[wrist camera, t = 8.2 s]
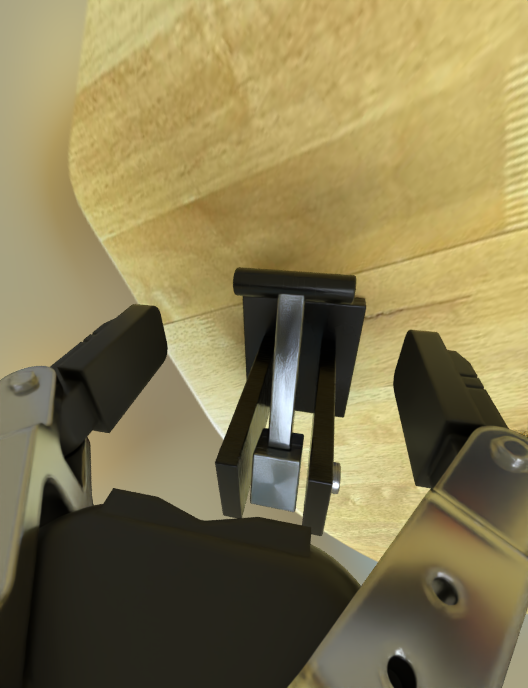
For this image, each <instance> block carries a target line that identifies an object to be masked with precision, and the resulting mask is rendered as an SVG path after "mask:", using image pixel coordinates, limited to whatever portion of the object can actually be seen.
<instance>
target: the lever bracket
mask: <svg viewBox="0 0 528 688" xmlns="http://www.w3.org/2000/svg"><path fill="white" fill-rule="evenodd" d="M277 308H278V299H274V298H262V297H250V296H243V315H244V336H245V357H246V378H247V381H246V384H245V386H244V389H243V391H242V394H241V397H240V399H239V402H238V404H237V407H236V410H235V412H234V415H233V417H232V420H231V422H230V425H229V428H228V430H227V433H226V435H225V438H224V441H223V443H222V446H221V448H220V450H219V453H218V456H217V459H216V461H215V465H216V471H217V478H218V485H219V492H220V498H221V505H222V511H223V515H224V516H229V517H233V518H242V515H243V512H244V508H245V504H246V500H247V496H248V492H249V488H250V485H251V477H252V460H253V452H254V450H255V447H256V445H257V442H258V440H259V437H260V434H261V432H262V429H263V428H265V427H266V423H267V419H268V415H269V412H270V404H271V390H272V376H273V363H274V349H275V335H276V322H277ZM365 311H366V302H365V299H362V298H354V301H353V304H352V305H344V304H332V303H320V302H309V301H306V302H305V312H304V323H303V333H302V343H301V354H300V364H299V374H298V385H297V395H296V405H295V411H302V412H308V413H313V421H312V431H311V441H310V451H309V461H308V471H307V481H306V491H305V501H304V511H303V522H302V526H307V527H311V534H313V535H318V536H322V534H323V529H324V525H325V520H326V515H327V510H328V506H329V501H330V496H331V493H333V494H338V492H339V488H340V478H341V466H340V463H336V462H334V419H335V416H336V417H342V418H343V417H344V415H345V410H346V405H347V400H348V396H349V391H350V386H351V381H352V376H353V371H354V366H355V361H356V356H357V351H358V346H359V341H360V336H361V331H362V326H363V321H364V316H365Z"/></svg>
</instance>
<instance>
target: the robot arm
mask: <svg viewBox="0 0 528 688" xmlns="http://www.w3.org/2000/svg"><path fill="white" fill-rule="evenodd" d="M167 349H168V347H167V341H166V336H165V332H164V327H163V323H162V318H161V314H160V311H159V309H158V308H157V307H156V306H149V305H138V304H133V305H131V306H130V307H129V308H128V309H126V310H125V311H124V312H123V313H121V314H120V315H119V316H118V317H117V318H115V319H113V320H110V321H108V322H106V323H104V324H103V325H101V326H100V327H99V328H98V329H97V330H95V331H94V332H93V334H92V335H91V334H90V335H89V336H88V337H86V338H85V339H84V341H83V342H80V343H79V344H78V345H76V346H75V347H74V348H73V349H72V350H70V351H69V352H68V353H67V354H65V355H64V356H63V357H62V358H60V359H59V360H58V361H57V362H55V363H54V364H53V365H52V366H51V367H47V366H34V367H28V368H24V369H21V370H18V371H16V372H13V373H11V374H9V375H7V376H5V377H4V378H2V379H1V380H0V688H502V686H503V683H504V680H505V676H506V673H507V670H508V667H509V664H510V661H511V658H512V655H513V652H514V648H515V646H516V643H517V639H518V636H519V633H520V630H521V627H522V624H523V621H524V617H525V615H526V612H527V609H528V438H527V437H526V436H524V435H522V434H520V433H518V432H515V431H513V430H510V429H509V428H508V427H507V425H506V423H505V422H504V420H503V418H502V417H501V415H500V413H499V411H498V410H497V408H496V406H495V405H494V403H493V401H492V400H491V398H490V396H489V395H488V393H487V391H486V390H484V386H483V384H482V383H481V381H480V379H479V378H477V374H476V372H475V371H474V369H473V367H472V366H471V364H470V363H469V362H468V361H467V360H466V359H465V358H463V357H462V356H461V355H460V354H458V353H457V352H456V351H451V350H447V349H446V347H445V345H444V343H443V341H442V339H441V337H440V335H439V334H438V333H437V332H429V331H418V330H409V331H408V332H407V334H406V336H405V339H404V343H403V346H402V349H401V353H400V356H399V359H398V363H397V366H396V369H395V373H394V382H393V386H394V393H395V398H396V402H397V407H398V411H399V415H400V420H401V424H402V429H403V433H404V437H405V442H406V446H407V451H408V455H409V459H410V464H411V468H412V473H413V477H414V482H415V486H420V487H426V488H431V489H430V490H429V491H428V493H427V494H426V495H425V497H424V498H423V500H422V501H421V502H420V504H419V505H418V507H417V508H416V509H415V511H414V512H413V514H412V515H411V516H410V518H409V519H408V521H407V522H406V524H405V525H404V526H403V528H402V529H401V531H400V532H399V533H398V535H397V536H396V538H395V539H394V541H393V542H392V543H391V545H390V546H389V548H388V549H387V550H386V552H385V553H384V555H383V556H382V557H381V559H380V560H379V562H378V563H377V565H376V566H375V567H374V569H373V570H372V572H371V573H370V574H369V576H368V577H367V579H366V580H365V582H364V583H363V584H362V586H360V584H359V583H358V582H357V580H356V579H355V578H354V577H353V576H352V575H351V574H350V573H349V572H348V571H347V570H346V569H345V568H344V567H343V566H342V565H341V564H340V563H339V562H337V561H336V560H335V559H334V558H333V557H331V556H330V555H328V554H327V553H325V552H324V551H322V550H321V549H319V548H317V547H315V546H313V545H311V544H310V541H311V527H307V526H302V525H297V524H292V523H286V522H281V521H277V520H272V519H266V518H261V517H251V518H238V519H224V520H211V521H203V520H199V519H197V518H195V517H194V516H192V515H190V514H188V513H186V512H185V511H183V510H181V509H179V508H177V507H175V506H173V505H172V504H170V503H168V502H166V501H164V500H163V499H161V498H159V497H156V496H151V495H145V494H140V493H136V492H130V491H125V490H120V489H115V488H113V490H112V491H111V493H110V494H109V496H108V497H107V499H106V501H105V502H104V504H99V505H93V500H92V488H91V487H92V486H91V453H90V441H89V439H88V437H87V436H88V435H89V434H90V433H91V431H92V430H94V431H99V432H105V433H110V432H111V430H112V429H113V428H114V427H115V425H116V424H117V423H118V421H119V420H120V419H121V418H122V416H123V415H124V414H125V412H126V411H127V410H128V408H129V407H130V406H131V404H132V403H133V402H134V400H135V399H136V398H137V397H138V395H139V394H140V393H141V391H142V390H143V389H144V387H145V386H146V385H147V383H148V382H149V381H150V380H151V378H152V377H153V376H154V374H155V373H156V372H157V370H158V369H159V368H160V366H161V365H162V364H163V362H164V361H165V359H166V356H167Z"/></svg>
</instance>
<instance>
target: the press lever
mask: <svg viewBox="0 0 528 688" xmlns="http://www.w3.org/2000/svg"><path fill="white" fill-rule="evenodd" d="M233 289H234V293H235V294H236V295H238V296H250V297H262V298H274V299H278V308H277V322H276V335H275V349H274V363H273V376H272V390H271V404H270V418H269V429H267V428H263V429H262V432H261V434H260V437H259V440H258V442H257V445H256V447H255V450H254V452H253V460H252V477H251V494H250V503H251V504H256V505H261V506H266V507H271V508H276V509H281V510H286V511H290V512H295V509H296V501H297V493H298V485H299V477H300V468H301V459H302V450H303V440H304V435H303V434H299V433H293V426H294V416H295V405H296V395H297V385H298V374H299V364H300V354H301V343H302V333H303V323H304V312H305V302H306V301H309V302H320V303H332V304H344V305H352V304H353V301H354V297H355V290H356V276H354V275H341V274H327V273H312V272H298V271H283V270H269V269H254V268H240V267H239V268H237V269H236V270H235V273H234V277H233Z"/></svg>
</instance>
